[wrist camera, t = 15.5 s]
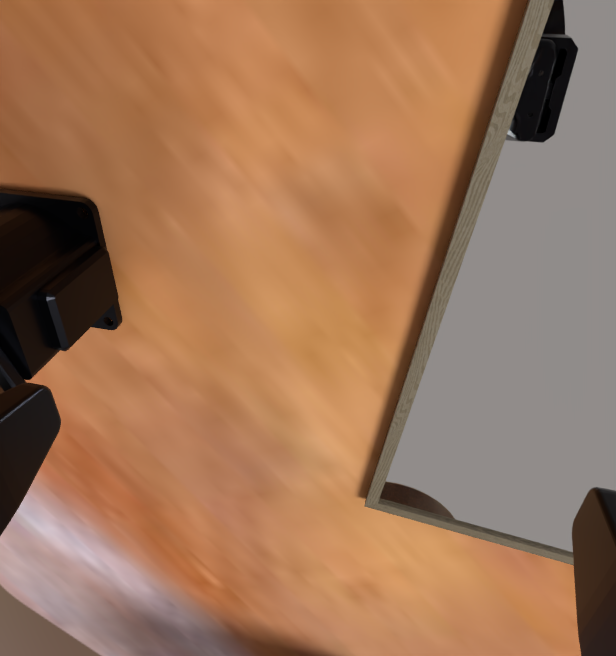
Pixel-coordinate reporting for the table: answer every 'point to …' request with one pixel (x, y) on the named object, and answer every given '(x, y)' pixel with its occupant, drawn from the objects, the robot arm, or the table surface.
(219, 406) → the table surface
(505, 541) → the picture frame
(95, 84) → the table surface
